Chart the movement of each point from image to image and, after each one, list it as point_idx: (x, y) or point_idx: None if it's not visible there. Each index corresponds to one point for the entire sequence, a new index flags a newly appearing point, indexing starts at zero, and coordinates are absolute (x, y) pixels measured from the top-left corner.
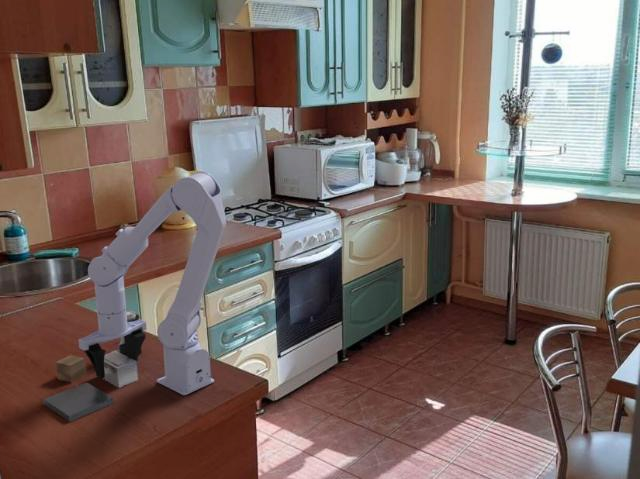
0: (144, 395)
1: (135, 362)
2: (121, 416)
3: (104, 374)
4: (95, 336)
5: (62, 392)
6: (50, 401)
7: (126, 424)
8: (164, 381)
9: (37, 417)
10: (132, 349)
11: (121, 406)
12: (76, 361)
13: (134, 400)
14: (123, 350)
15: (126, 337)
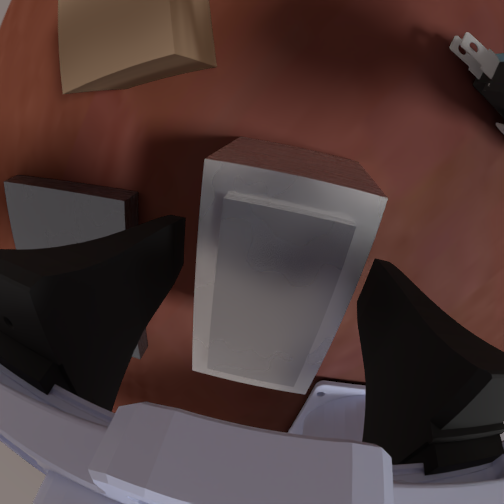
0: (233, 386)
1: (298, 389)
2: (135, 384)
3: (173, 280)
4: (17, 450)
5: (41, 194)
6: (11, 215)
7: (130, 399)
8: (319, 403)
9: (2, 222)
10: (381, 366)
11: (155, 367)
12: (111, 62)
13: (196, 379)
14: (499, 101)
15: (433, 385)
